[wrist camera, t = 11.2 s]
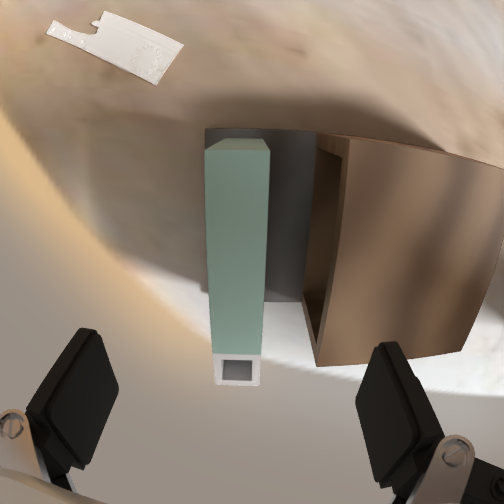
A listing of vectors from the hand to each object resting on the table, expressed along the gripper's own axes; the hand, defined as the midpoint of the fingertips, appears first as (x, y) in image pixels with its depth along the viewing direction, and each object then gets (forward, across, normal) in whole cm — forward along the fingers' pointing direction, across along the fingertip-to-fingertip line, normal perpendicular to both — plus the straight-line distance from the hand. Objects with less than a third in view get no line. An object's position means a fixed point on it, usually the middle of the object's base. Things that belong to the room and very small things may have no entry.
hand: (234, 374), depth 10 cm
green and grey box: (+18, +1, +1) cm, 18 cm away
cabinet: (+19, -8, +1) cm, 21 cm away
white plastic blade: (+19, +13, -18) cm, 29 cm away
